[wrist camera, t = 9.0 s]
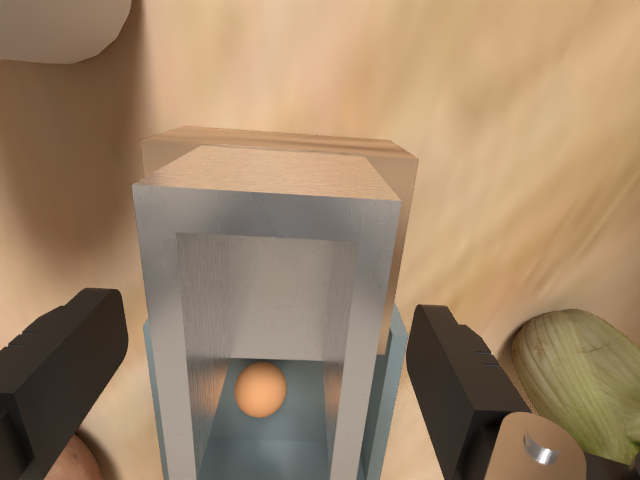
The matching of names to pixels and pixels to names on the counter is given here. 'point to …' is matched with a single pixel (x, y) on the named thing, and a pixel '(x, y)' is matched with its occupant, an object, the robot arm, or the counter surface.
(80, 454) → the ceramic jug
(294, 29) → the counter surface
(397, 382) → the tray
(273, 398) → the ball
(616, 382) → the fennel bulb
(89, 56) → the can
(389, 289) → the stand
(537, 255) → the counter surface
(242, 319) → the chute
